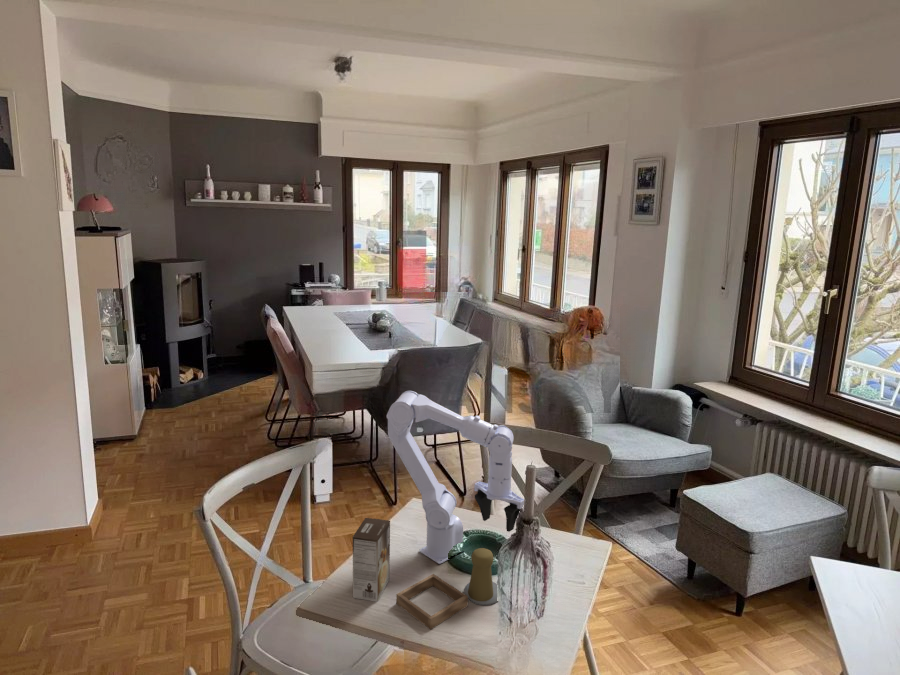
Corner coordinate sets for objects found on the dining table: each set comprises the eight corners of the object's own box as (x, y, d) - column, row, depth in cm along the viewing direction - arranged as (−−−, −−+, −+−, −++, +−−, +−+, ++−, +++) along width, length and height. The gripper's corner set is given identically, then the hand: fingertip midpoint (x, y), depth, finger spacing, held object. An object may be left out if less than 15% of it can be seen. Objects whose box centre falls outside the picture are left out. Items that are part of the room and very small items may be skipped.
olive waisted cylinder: (464, 587, 148) (466, 546, 145) (488, 583, 149) (490, 542, 147) (472, 603, 142) (474, 560, 139) (497, 599, 144) (499, 557, 141)
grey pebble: (481, 576, 153) (481, 574, 153) (509, 593, 147) (509, 591, 146) (456, 592, 147) (456, 590, 146) (484, 610, 140) (484, 608, 140)
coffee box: (365, 575, 152) (365, 516, 148) (390, 579, 151) (391, 519, 147) (352, 598, 143) (351, 536, 139) (378, 602, 142) (379, 540, 138)
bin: (433, 582, 150) (433, 573, 149) (467, 606, 142) (467, 596, 141) (396, 603, 142) (396, 594, 141) (430, 629, 134) (430, 619, 133)
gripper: (467, 471, 156) (466, 520, 159) (514, 489, 147) (511, 541, 150) (484, 462, 161) (483, 510, 164) (530, 480, 152) (528, 530, 155)
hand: (498, 524), depth 157 cm, fingers open, 7 cm apart
